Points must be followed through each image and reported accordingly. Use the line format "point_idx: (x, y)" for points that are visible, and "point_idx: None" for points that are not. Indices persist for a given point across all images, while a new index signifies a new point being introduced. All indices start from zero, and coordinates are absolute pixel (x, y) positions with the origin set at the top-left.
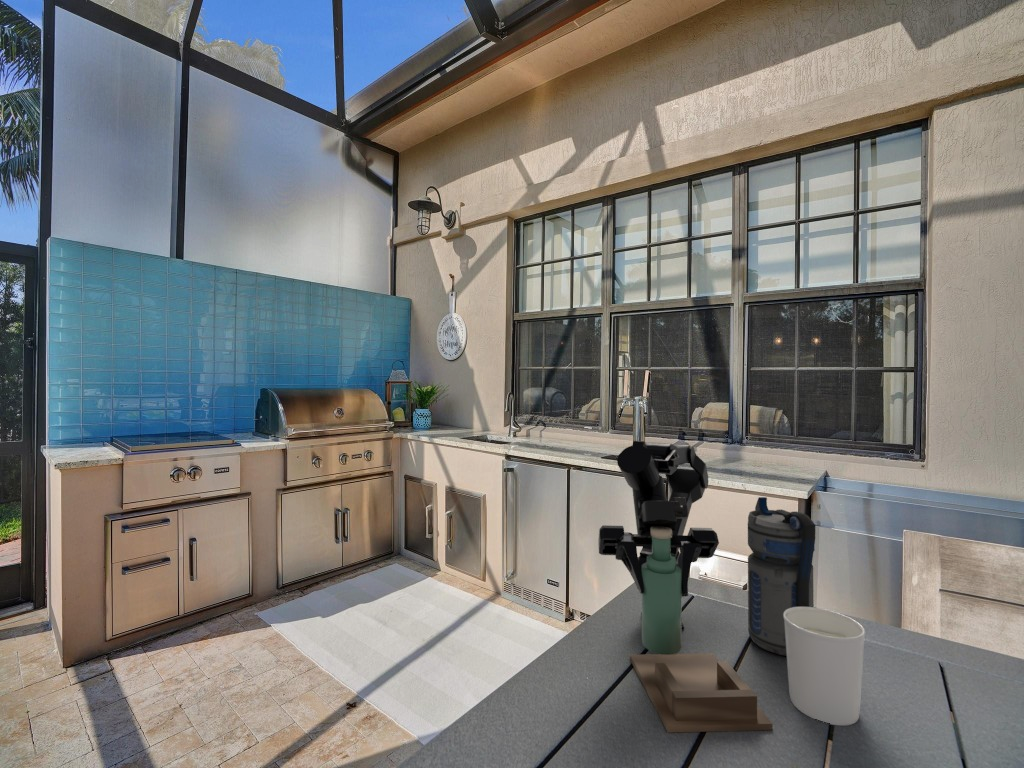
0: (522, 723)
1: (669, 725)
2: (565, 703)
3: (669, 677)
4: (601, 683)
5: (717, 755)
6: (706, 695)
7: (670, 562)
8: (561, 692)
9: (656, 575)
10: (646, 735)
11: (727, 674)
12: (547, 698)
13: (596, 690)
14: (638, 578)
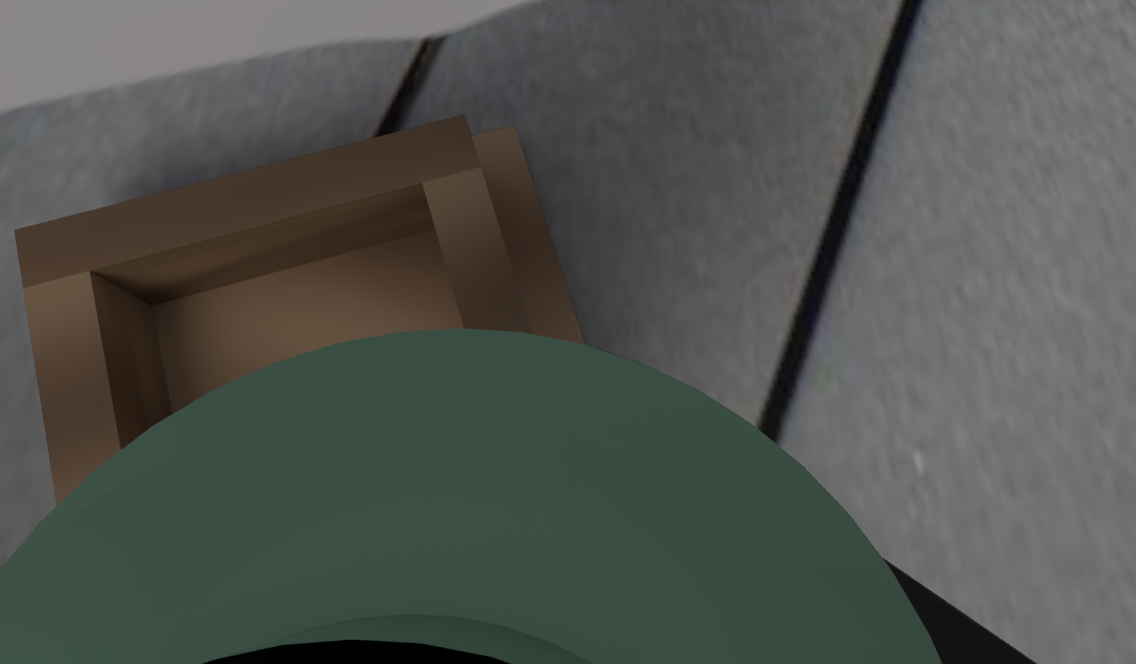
0: (1093, 59)
1: (505, 131)
2: (967, 222)
3: (483, 295)
4: (836, 426)
5: (332, 59)
6: (299, 169)
7: (56, 597)
8: (1009, 298)
9: (588, 347)
10: (601, 104)
11: (116, 419)
12: (1055, 237)
13: (850, 358)
14: (924, 604)
